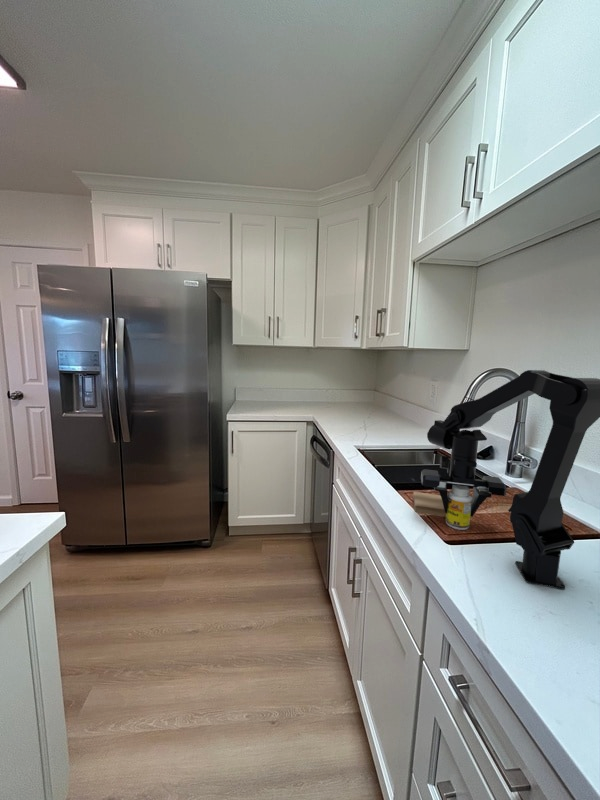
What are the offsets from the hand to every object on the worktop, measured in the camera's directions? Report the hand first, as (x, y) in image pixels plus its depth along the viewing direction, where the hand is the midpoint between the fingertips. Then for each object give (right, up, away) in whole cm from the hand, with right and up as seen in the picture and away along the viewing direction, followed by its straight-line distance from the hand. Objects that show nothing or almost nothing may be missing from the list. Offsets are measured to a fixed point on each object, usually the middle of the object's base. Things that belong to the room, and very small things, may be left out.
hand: (458, 514), depth 85 cm
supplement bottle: (0, -3, 0) cm, 3 cm away
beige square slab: (-2, -2, +10) cm, 11 cm away
